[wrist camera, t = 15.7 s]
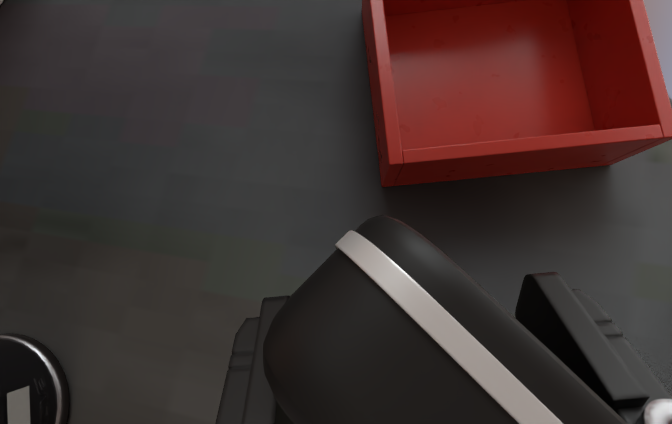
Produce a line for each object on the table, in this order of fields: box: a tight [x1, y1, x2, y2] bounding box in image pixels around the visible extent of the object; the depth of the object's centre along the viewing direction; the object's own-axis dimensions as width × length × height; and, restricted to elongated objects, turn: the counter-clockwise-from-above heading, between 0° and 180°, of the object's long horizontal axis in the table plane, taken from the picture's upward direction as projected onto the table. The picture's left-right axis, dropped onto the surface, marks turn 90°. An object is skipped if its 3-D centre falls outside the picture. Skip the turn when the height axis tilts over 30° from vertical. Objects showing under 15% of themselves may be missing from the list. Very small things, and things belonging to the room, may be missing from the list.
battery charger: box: [263, 215, 627, 424], centre depth 10 cm, size 7×4×11 cm, turn 45°
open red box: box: [362, 0, 672, 187], centre depth 24 cm, size 16×14×5 cm
